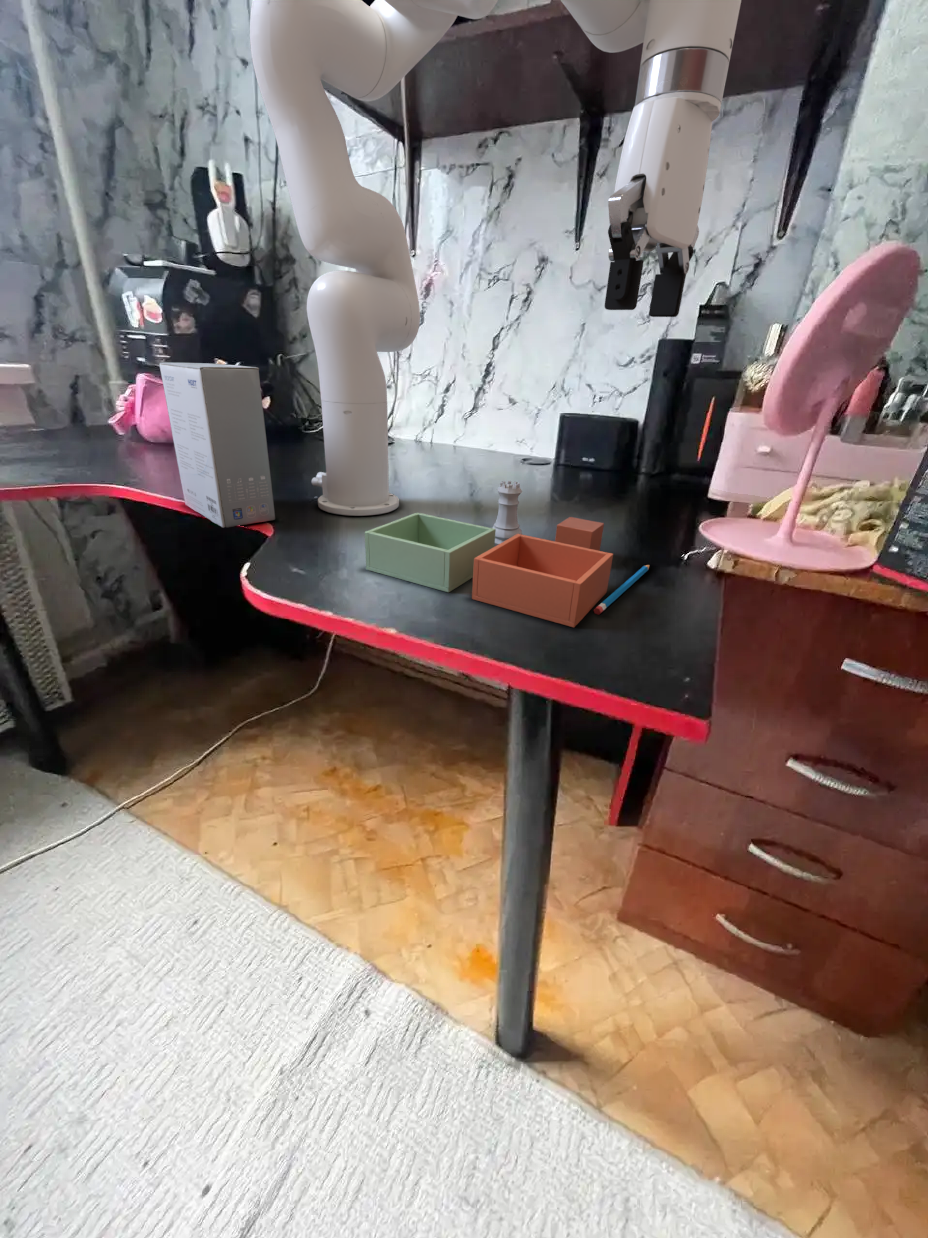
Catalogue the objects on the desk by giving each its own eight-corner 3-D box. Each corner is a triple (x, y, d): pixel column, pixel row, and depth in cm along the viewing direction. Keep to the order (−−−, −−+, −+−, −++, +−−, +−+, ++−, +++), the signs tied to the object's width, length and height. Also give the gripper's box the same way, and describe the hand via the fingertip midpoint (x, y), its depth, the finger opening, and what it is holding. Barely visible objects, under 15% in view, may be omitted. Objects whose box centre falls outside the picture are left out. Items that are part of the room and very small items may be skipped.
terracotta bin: (471, 599, 57) (473, 558, 55) (514, 570, 65) (517, 533, 63) (574, 627, 52) (580, 584, 50) (606, 592, 60) (613, 553, 58)
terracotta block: (552, 559, 68) (556, 524, 66) (565, 550, 72) (570, 516, 70) (587, 567, 66) (592, 531, 64) (598, 557, 70) (604, 523, 68)
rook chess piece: (520, 549, 71) (525, 488, 68) (486, 546, 72) (490, 485, 68) (523, 539, 75) (529, 480, 72) (491, 536, 76) (495, 478, 72)
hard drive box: (277, 521, 78) (260, 367, 69) (223, 530, 73) (197, 366, 64) (233, 498, 88) (212, 361, 79) (182, 505, 83) (155, 360, 74)
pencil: (592, 613, 55) (593, 607, 55) (645, 566, 68) (646, 561, 67) (600, 615, 55) (601, 609, 54) (652, 568, 67) (653, 562, 67)
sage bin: (365, 569, 63) (364, 531, 61) (416, 546, 71) (417, 512, 69) (448, 592, 58) (450, 552, 56) (493, 565, 66) (495, 528, 64)
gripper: (678, 132, 57) (646, 318, 65) (592, 71, 46) (566, 306, 53) (753, 117, 53) (709, 319, 60) (679, 44, 41) (637, 306, 49)
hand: (642, 313), depth 57 cm, fingers open, 9 cm apart
